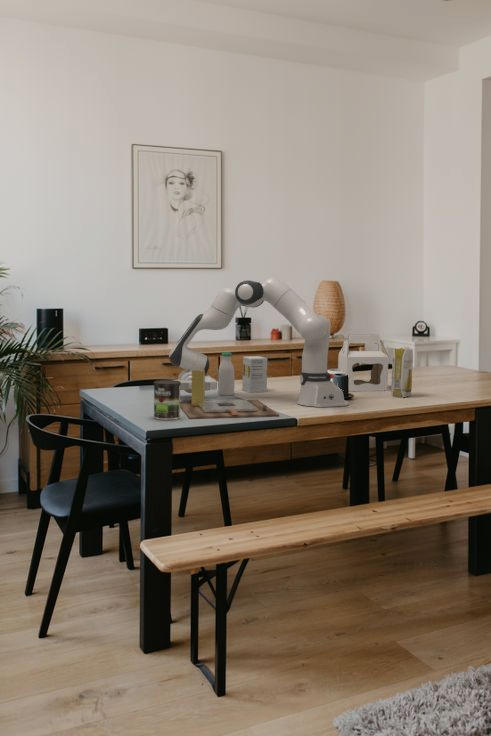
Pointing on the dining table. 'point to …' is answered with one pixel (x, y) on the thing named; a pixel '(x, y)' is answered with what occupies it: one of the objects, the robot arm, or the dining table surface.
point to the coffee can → (167, 399)
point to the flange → (215, 405)
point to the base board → (197, 413)
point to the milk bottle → (226, 375)
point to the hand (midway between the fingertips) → (195, 387)
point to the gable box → (368, 357)
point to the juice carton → (402, 372)
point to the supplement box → (254, 374)
